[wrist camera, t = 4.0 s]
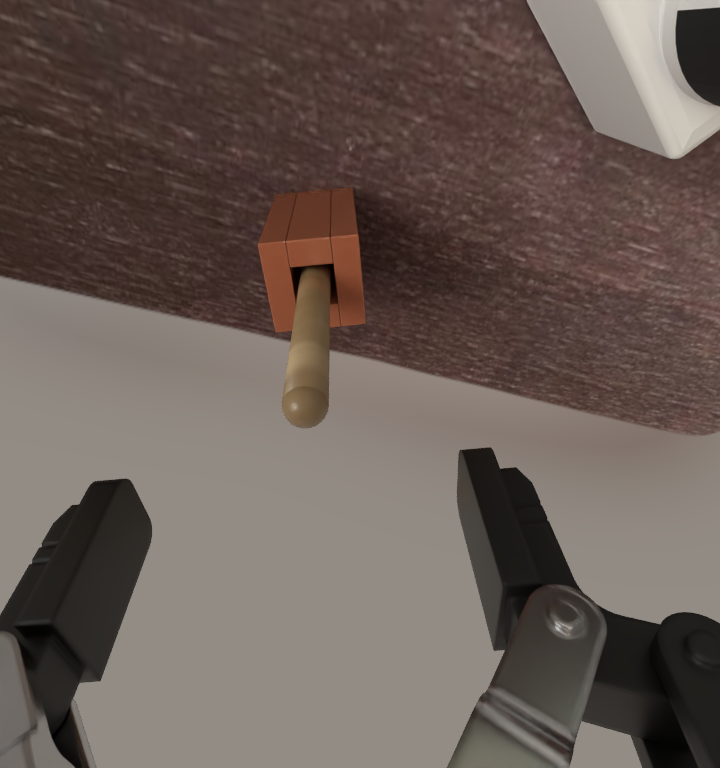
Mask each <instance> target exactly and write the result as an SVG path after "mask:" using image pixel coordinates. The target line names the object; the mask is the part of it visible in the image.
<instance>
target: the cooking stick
mask: <svg viewBox="0 0 720 768" xmlns="http://www.w3.org/2000/svg"><path fill="white" fill-rule="evenodd" d="M330 284H331V264H322V265H311V266H302V267H301V274H300V281H299V288H298V295H297V302H296V309H295V316H294V323H293V330H292V337H291V344H290V351H289V358H288V365H287V372H286V380H285V386H284V393H283V400H282V410H283V413H284V416H285V417H286V419H287V420H288V421H289V422H290V423H291V424H292V425H294V426H296V427H299V428H311V427H314V426H316V425H318V424H319V423H320V422H322V421H323V419H324V418H325V416H326V414H327V412H328V406H329V346H330Z"/></svg>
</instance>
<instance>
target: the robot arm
mask: <svg viewBox="0 0 720 768" xmlns="http://www.w3.org/2000/svg"><path fill="white" fill-rule="evenodd" d="M458 459H459V460H458V482H457V503H458V510H459V516H460V520H461V524H462V528H463V532H464V536H465V540H466V544H467V548H468V552H469V555H470V560H471V563H472V567H473V571H474V575H475V579H476V583H477V587H478V591H479V595H480V599H481V602H482V606H483V610H484V614H485V618H486V622H487V626H488V630H489V634H490V637H491V642H492V646H493V649H494V651H496V650H505V652H504V654H503V656H502V659H501V661H500V663H499V665H498V668H497V670H496V672H495V674H494V676H493V679H492V681H491V683H490V686H489V687H488V689H487V691H486V692H485V693H483V694H482V695H481V697H480V698H479V700H478V702H477V704H476V706H475V708H474V710H473V712H472V714H471V717H470V718H469V721H468V723H467V725H466V727H465V729H464V731H463V734H462V736H461V738H460V741H459V743H458V745H457V747H456V749H455V751H454V754H453V756H452V758H451V760H450V762H449V764H448V767H447V768H569V766H570V763H571V759H572V755H573V749H574V744H575V740H576V737H577V734H578V730H579V727H580V723H581V721H584V722H587V723H590V724H594V725H598V726H601V727H604V728H608V729H612V730H615V731H618V732H622V733H625V734H629V735H631V738H632V740H633V743H634V746H635V748H636V751H637V754H638V757H639V760H640V762H641V765H642V768H720V623H718V622H716V621H714V620H712V619H710V618H708V617H706V616H703V615H699V614H695V613H687V612H682V613H675V614H672V615H670V616H668V617H666V618H665V619H664V620H663V621H662V623H661V625H660V624H656V623H651V622H647V621H642V620H638V619H634V618H629V617H625V616H621V615H618V614H614V613H612V612H610V611H607V610H605V609H603V608H602V607H600V606H598V605H597V604H595V602H594V601H593V600H591V599H590V598H589V597H588V596H587V595H585V594H584V593H583V592H582V591H581V589H580V588H579V587H578V585H577V584H576V582H575V580H574V578H573V576H572V573H571V571H570V569H569V566H568V564H567V562H566V559H565V557H564V555H563V553H562V550H561V548H560V546H559V543H558V541H557V539H556V536H555V534H554V532H553V530H552V527H551V525H550V523H549V521H547V516H546V514H545V511H544V509H543V507H542V506H541V504H540V500H539V498H538V495H537V493H536V491H535V488H534V486H533V484H532V482H531V481H529V479H528V478H526V477H525V476H524V475H523V474H522V473H521V472H520V471H519V470H518V469H517V468H516V467H515V468H504V469H500V468H499V465H498V462H497V460H496V457H495V454H494V452H493V450H492V448H479V449H467V450H460V451H459V458H458ZM151 538H152V525H151V521H150V518H149V516H148V514H147V512H146V510H145V508H144V506H143V504H142V502H141V500H140V498H139V496H138V494H137V492H136V490H135V488H134V486H133V484H132V483H131V481H130V480H129V479H116V480H105V481H95V482H93V483H92V484H91V485H90V486H89V488H88V490H87V491H86V493H85V495H84V497H83V499H82V500H81V502H80V504H79V505H72V506H71V507H70V508H69V509H68V510H67V511H66V512H65V513H64V514H63V515H61V516H60V517H59V518H58V519H57V520H56V521H55V522H54V523H53V525H52V527H51V528H50V530H49V532H48V534H47V535H46V537H45V539H44V540H43V542H42V547H41V548H39V549H38V551H37V553H36V554H35V556H34V558H33V560H32V564H30V565H29V566H28V568H27V570H26V572H25V573H24V575H23V577H22V579H21V580H20V582H19V584H18V586H17V587H16V589H15V591H14V592H13V594H12V596H11V597H10V599H9V601H8V603H7V604H6V606H5V608H4V610H3V611H2V613H1V615H0V768H96V765H95V761H94V758H93V755H92V752H91V748H90V745H89V742H88V739H87V735H86V732H85V729H84V726H83V723H82V719H81V716H80V713H79V710H78V706H77V704H76V702H75V700H74V699H73V697H74V695H75V692H76V690H77V687H78V685H79V683H82V682H94V681H100V680H101V678H102V675H103V672H104V670H105V667H106V664H107V661H108V659H109V656H110V653H111V651H112V648H113V645H114V642H115V639H116V637H117V634H118V631H119V629H120V626H121V623H122V620H123V618H124V615H125V612H126V609H127V606H128V604H129V601H130V598H131V596H132V593H133V590H134V587H135V585H136V582H137V579H138V576H139V574H140V571H141V568H142V566H143V563H144V560H145V557H146V555H147V552H148V549H149V546H150V543H151Z"/></svg>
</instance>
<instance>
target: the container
mask: <svg viewBox="0 0 720 768" xmlns="http://www.w3.org/2000/svg"><path fill="white" fill-rule="evenodd" d="M527 3H528V5H529V7H530V9H531V10H532V12H533V14H534V16H535V18H536V20H537V22H538V24H539V26H540V28H541V29H542V31H543V33H544V35H545V37H546V39H547V41H548V43H549V45H550V47H551V48H552V50H553V52H554V54H555V56H556V58H557V60H558V62H559V64H560V66H561V67H562V69H563V71H564V73H565V75H566V77H567V79H568V81H569V83H570V84H571V86H572V88H573V90H574V92H575V94H576V96H577V98H578V100H579V102H580V103H581V105H582V107H583V109H584V111H585V113H586V115H587V117H588V119H589V121H590V122H591V124H592V126H593V128H594V130H595V131H596V132H598V133H601V134H604V135H607V136H609V137H612V138H615V139H618V140H620V141H623V142H626V143H629V144H631V145H634V146H637V147H640V148H642V149H645V150H648V151H651V152H653V153H656V154H659V155H662V156H664V157H667V158H670V159H679V158H681V157H683V156H684V155H686V154H687V153H688V152H690V151H691V150H692V149H694V148H695V147H697V146H698V145H699V144H701V143H702V142H703V141H705V140H706V139H708V138H709V137H710V136H712V135H713V134H714V133H716V132H717V131H718V130H720V0H527Z"/></svg>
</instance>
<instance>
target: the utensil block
mask: <svg viewBox="0 0 720 768" xmlns="http://www.w3.org/2000/svg"><path fill="white" fill-rule="evenodd" d="M258 249H259V254H260V259H261V264H262V269H263V274H264V278H265V283H266V288H267V293H268V298H269V303H270V307H271V312H272V317H273V322H274V327H275V331H276V332H285V331H292V330H293V323H294V316H295V309H296V302H297V295H298V288H299V281H300V274H301V267H302V266H311V265H322V264H331V284H330V327H338V326H347V325H358V324H366V314H365V303H364V291H363V279H362V267H361V256H360V244H359V233H358V225H357V217H356V208H355V200H354V192H353V187H347V188H337V189H332V190H331V189H327V190H317V191H306V192H298V193H296V192H295V193H285V194H276V195H275V198H274V201H273V204H272V206H271V209H270V212H269V214H268V217H267V220H266V223H265V225H264V228H263V231H262V233H261V236H260V239H259V242H258Z"/></svg>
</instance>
